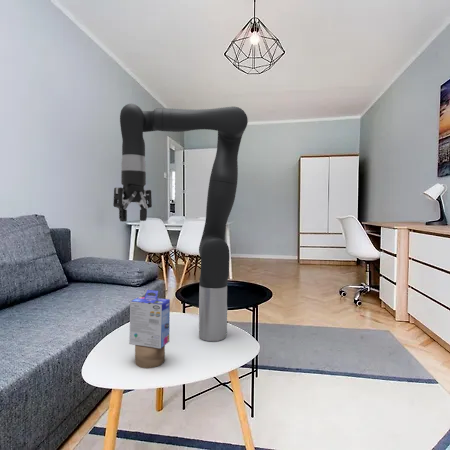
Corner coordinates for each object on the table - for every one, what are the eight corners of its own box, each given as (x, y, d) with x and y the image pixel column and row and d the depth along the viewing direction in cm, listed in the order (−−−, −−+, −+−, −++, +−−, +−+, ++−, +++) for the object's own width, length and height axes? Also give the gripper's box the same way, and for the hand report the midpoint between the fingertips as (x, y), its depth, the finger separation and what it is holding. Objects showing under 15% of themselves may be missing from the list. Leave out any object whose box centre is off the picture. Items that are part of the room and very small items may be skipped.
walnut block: (149, 351, 93) (149, 335, 93) (170, 358, 89) (170, 341, 89) (128, 363, 86) (128, 345, 86) (151, 371, 82) (151, 352, 82)
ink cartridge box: (170, 341, 89) (171, 290, 88) (161, 349, 83) (162, 296, 83) (139, 337, 91) (139, 287, 90) (128, 345, 86) (128, 292, 85)
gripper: (125, 167, 92) (125, 222, 93) (157, 172, 105) (157, 220, 106) (107, 168, 96) (107, 221, 97) (141, 173, 108) (140, 220, 109)
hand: (133, 221), depth 101 cm, fingers open, 8 cm apart
